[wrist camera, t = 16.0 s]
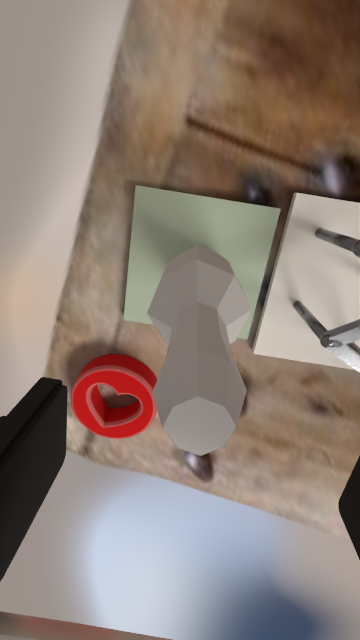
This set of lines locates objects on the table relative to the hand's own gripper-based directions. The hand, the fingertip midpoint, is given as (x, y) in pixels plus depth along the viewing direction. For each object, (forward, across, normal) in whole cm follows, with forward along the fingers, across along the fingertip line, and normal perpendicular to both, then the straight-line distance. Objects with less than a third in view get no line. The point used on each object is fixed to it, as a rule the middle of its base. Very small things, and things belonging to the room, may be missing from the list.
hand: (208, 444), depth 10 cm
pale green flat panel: (+24, +1, 0) cm, 24 cm away
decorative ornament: (+24, +8, +16) cm, 30 cm away
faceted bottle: (+23, +1, 0) cm, 23 cm away
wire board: (+24, -12, 0) cm, 27 cm away
